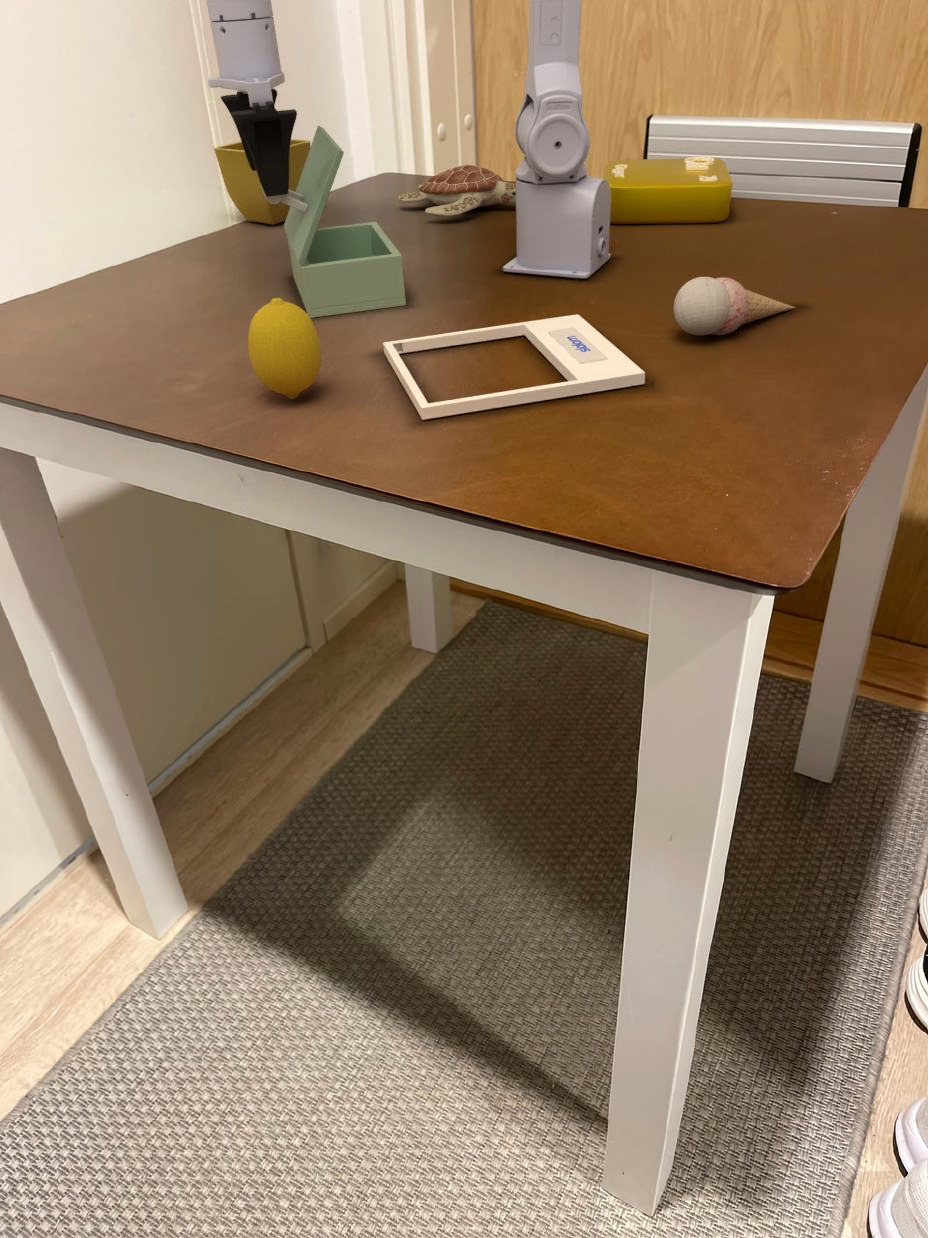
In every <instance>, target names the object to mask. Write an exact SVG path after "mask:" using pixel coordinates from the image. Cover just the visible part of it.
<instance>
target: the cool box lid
mask: <svg viewBox="0 0 928 1238" xmlns="http://www.w3.org/2000/svg"><path fill="white" fill-rule="evenodd" d="M344 153H345V152H344V150H343V149H342V148H341V147H340V146H339V144H338V143H337V142H336V141H335V139H334V138H333V137H332V136H331V135H330V134H329V133H328V131H326V129H325V128H324V127H322V126H320V125H318V126H317V127H316V130H315V133H314V136H313V138H312V142H311V144H310V150H309V153H308V156H307V159H306V162H305V165H304V168H303V171H302V174H301V177H300V180H299V183H298V186H297V189H296V192H294V191H292V190H289V189H288V194H286V195H277V196H269V197H266V195H265V193H264V191H263V193H264V195H265V198H266V200H267V201H268V202H269V203H271V204H278V203H279V202H282V203H284V204H286V205H289V206H290V209H289V212H288V215H287V218H286V221H284V224H283V230H284V232H285V234H286V237H288V238H287V240H288V239H289V241H290V244H291V246H292V248H293V251H294V253H295V256H296V258H297V260H298V262H299V263H301V264H304V263H305V260H306V258H307V255H308V252H309V249H310V246H311V244H312V241H313V238H314V235H315V232H316V230H317V229H318V228H319V223H320V221H321V218H322V216H323V213H324V210H325V207H326V205H327V202H328V199H329V195H330V192H331V190H332V188H333V184H334V182H335V179H336V176H337V174H338V171H339V169H340V165H341V162H342V160H343V156H344ZM261 188H262V186H261ZM262 190H263V189H262Z"/></svg>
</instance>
